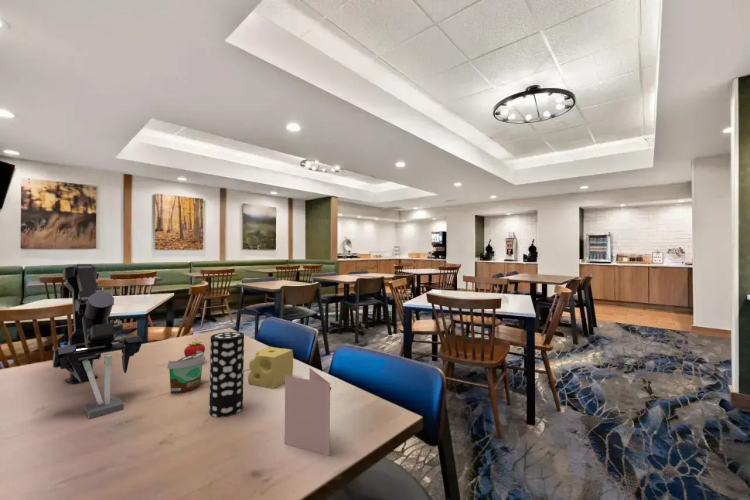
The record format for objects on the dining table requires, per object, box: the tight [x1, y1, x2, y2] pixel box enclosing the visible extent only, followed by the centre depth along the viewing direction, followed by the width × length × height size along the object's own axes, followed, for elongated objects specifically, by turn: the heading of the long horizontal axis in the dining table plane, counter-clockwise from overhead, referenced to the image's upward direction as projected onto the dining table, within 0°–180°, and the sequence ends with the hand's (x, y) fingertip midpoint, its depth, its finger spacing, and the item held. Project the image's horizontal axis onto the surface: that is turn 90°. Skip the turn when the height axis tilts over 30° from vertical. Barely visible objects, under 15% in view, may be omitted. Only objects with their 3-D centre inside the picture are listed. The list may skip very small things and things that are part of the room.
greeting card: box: [283, 367, 332, 457], centre depth 71 cm, size 11×7×15 cm, turn 33°
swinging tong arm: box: [82, 359, 103, 406], centre depth 86 cm, size 3×1×12 cm, turn 50°
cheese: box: [247, 346, 294, 389], centre depth 109 cm, size 10×11×10 cm
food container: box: [166, 351, 206, 395], centre depth 102 cm, size 12×6×10 cm, turn 168°
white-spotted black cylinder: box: [208, 331, 245, 418], centre depth 88 cm, size 8×8×20 cm
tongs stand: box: [83, 353, 124, 420], centre depth 88 cm, size 7×7×14 cm
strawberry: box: [183, 339, 206, 357], centre depth 125 cm, size 6×8×10 cm
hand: (104, 376), depth 88 cm, fingers open, 9 cm apart
